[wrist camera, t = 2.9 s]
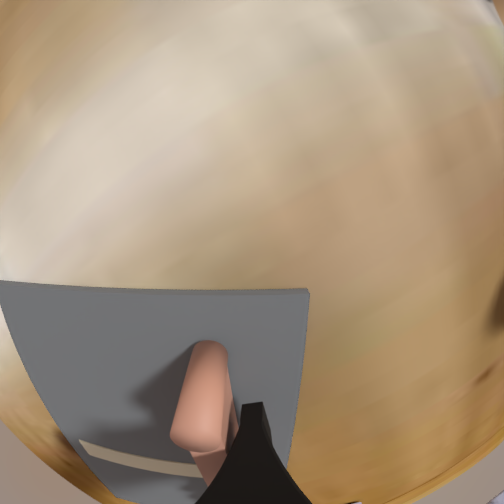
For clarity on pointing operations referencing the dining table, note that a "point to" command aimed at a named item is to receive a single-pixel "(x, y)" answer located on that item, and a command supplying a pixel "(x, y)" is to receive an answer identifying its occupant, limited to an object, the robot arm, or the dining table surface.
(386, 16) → the dining table surface
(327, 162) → the dining table surface
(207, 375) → the pink rounded-end bar
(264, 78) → the dining table surface
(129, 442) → the mat
